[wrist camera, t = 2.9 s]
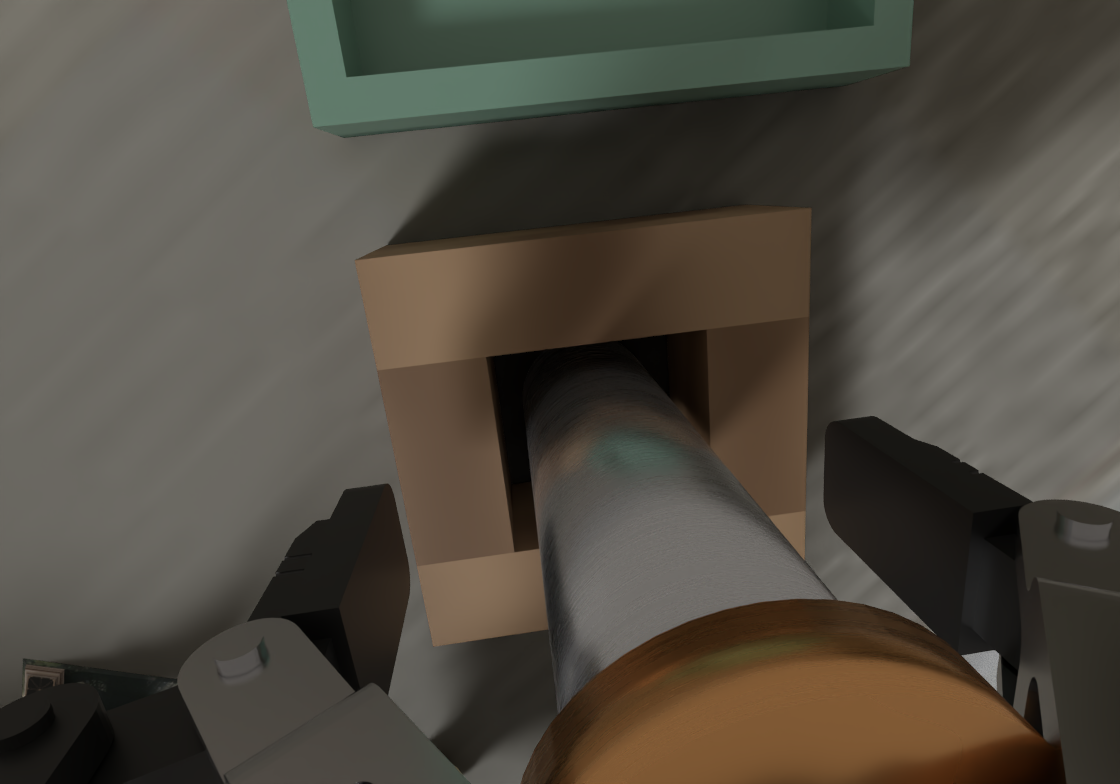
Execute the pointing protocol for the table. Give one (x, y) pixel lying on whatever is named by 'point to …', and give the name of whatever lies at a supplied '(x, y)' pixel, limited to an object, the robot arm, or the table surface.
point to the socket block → (570, 320)
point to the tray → (575, 55)
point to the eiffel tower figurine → (93, 681)
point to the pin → (721, 620)
